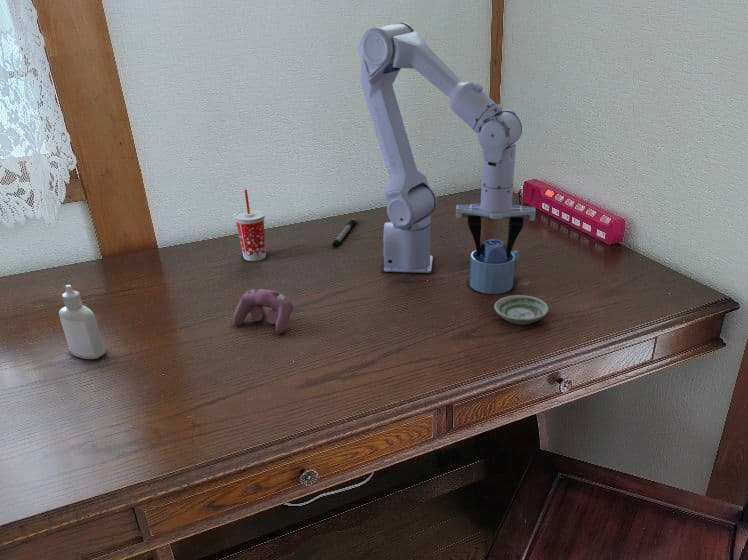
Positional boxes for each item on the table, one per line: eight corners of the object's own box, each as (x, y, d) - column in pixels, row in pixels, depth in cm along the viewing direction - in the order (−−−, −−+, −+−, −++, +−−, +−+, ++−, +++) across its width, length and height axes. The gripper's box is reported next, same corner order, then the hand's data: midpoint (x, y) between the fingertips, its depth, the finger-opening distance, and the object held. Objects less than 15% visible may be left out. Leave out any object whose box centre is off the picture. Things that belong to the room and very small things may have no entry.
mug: (492, 298, 138) (493, 268, 135) (460, 283, 143) (461, 254, 140) (531, 281, 145) (534, 252, 141) (500, 268, 150) (502, 240, 146)
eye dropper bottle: (80, 365, 116) (59, 296, 109) (68, 351, 119) (47, 283, 112) (108, 356, 118) (89, 288, 111) (95, 342, 122) (76, 276, 115)
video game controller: (293, 334, 128) (298, 294, 127) (280, 334, 124) (285, 293, 123) (244, 324, 131) (248, 285, 130) (229, 324, 127) (234, 284, 125)
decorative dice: (506, 265, 140) (507, 246, 137) (486, 268, 139) (487, 248, 136) (499, 257, 143) (500, 238, 140) (479, 259, 142) (480, 240, 139)
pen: (331, 247, 157) (331, 241, 156) (353, 220, 170) (352, 215, 170) (337, 248, 157) (337, 242, 156) (358, 221, 170) (358, 215, 170)
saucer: (517, 301, 137) (518, 289, 136) (558, 319, 132) (559, 307, 130) (482, 317, 132) (483, 305, 130) (523, 336, 126) (524, 324, 125)
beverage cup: (276, 255, 153) (268, 188, 145) (254, 264, 149) (245, 197, 141) (254, 248, 156) (245, 183, 148) (233, 258, 151) (222, 191, 144)
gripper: (456, 189, 129) (454, 262, 137) (539, 192, 129) (532, 264, 136) (457, 177, 135) (455, 247, 142) (536, 179, 134) (530, 249, 142)
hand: (493, 254), depth 140 cm, fingers closed on decorative dice, 5 cm apart
